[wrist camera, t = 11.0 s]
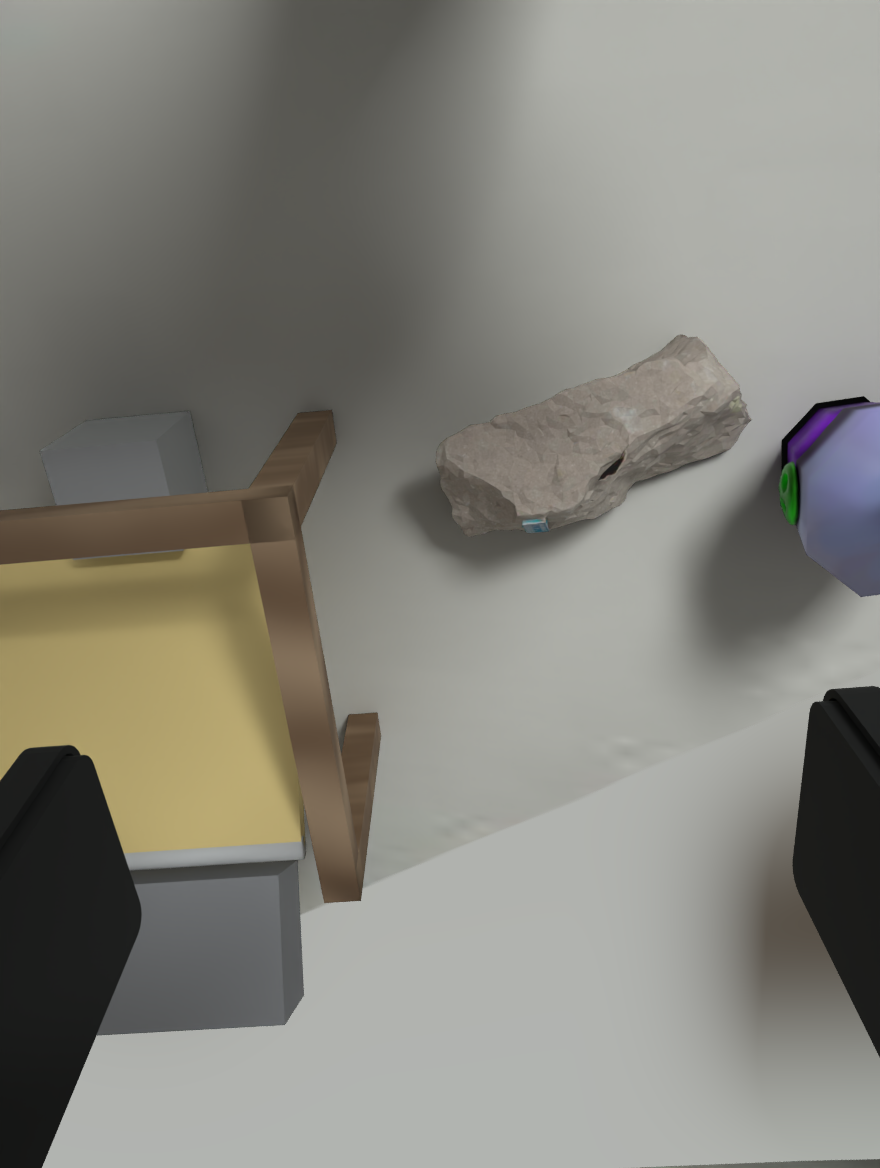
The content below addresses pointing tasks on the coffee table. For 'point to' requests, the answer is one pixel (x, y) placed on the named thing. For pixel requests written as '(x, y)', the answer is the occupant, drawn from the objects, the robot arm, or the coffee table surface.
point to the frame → (274, 533)
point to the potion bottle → (836, 489)
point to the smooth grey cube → (125, 461)
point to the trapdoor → (172, 768)
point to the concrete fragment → (591, 443)
